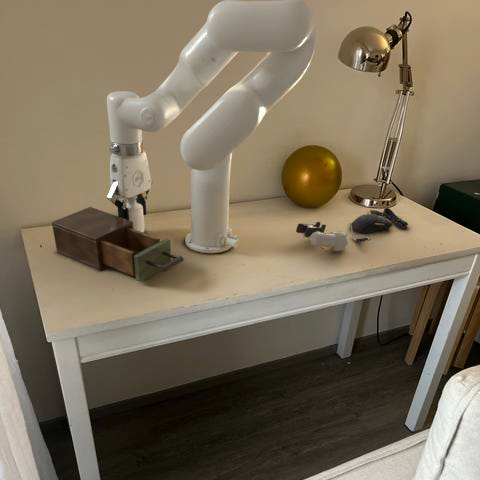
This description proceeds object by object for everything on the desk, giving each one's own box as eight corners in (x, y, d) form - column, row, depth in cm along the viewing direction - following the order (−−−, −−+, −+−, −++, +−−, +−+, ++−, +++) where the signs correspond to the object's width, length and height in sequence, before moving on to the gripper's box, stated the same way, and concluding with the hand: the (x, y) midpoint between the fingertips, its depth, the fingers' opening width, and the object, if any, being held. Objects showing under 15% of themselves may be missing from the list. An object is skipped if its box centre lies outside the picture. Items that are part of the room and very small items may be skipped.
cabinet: (135, 251, 127) (133, 221, 122) (99, 270, 118) (95, 239, 113) (93, 235, 133) (90, 206, 128) (57, 252, 124) (51, 222, 120)
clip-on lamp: (347, 242, 143) (292, 235, 136) (354, 220, 141) (298, 212, 133) (370, 257, 134) (312, 251, 126) (378, 234, 131) (319, 227, 124)
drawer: (190, 270, 118) (189, 246, 115) (159, 290, 111) (158, 265, 107) (129, 247, 126) (126, 224, 123) (96, 264, 119) (93, 239, 115)
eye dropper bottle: (145, 236, 134) (142, 192, 127) (124, 237, 133) (119, 194, 126) (143, 229, 137) (141, 186, 130) (122, 230, 136) (118, 187, 129)
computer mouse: (336, 217, 150) (338, 204, 148) (387, 212, 155) (390, 200, 153) (356, 234, 141) (358, 221, 138) (410, 229, 145) (413, 216, 143)
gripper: (112, 159, 114) (120, 232, 125) (162, 143, 126) (165, 211, 137) (89, 152, 118) (98, 224, 128) (139, 137, 130) (144, 204, 140)
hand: (132, 217), depth 132 cm, fingers closed on eye dropper bottle, 5 cm apart
